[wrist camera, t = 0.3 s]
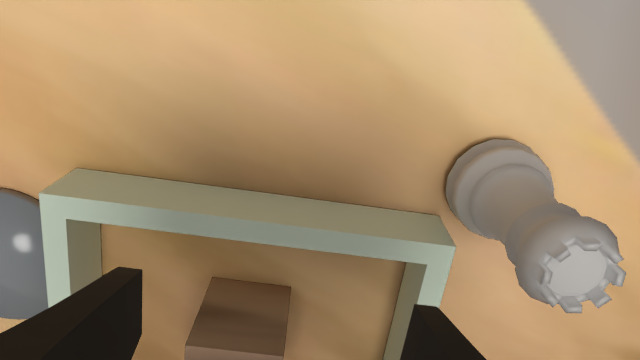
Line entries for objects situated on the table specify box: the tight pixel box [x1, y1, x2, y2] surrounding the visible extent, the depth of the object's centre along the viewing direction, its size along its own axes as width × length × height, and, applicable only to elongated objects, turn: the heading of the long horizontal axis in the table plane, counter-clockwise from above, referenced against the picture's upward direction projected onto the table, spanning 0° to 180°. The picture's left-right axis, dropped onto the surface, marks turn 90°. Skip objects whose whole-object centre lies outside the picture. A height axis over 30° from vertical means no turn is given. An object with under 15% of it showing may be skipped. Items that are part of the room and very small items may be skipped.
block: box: [185, 277, 291, 360], centre depth 22 cm, size 4×4×5 cm
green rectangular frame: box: [39, 168, 456, 360], centre depth 23 cm, size 14×17×3 cm
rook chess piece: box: [445, 139, 626, 313], centre depth 18 cm, size 4×4×8 cm
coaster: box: [0, 188, 48, 319], centre depth 22 cm, size 7×7×1 cm
